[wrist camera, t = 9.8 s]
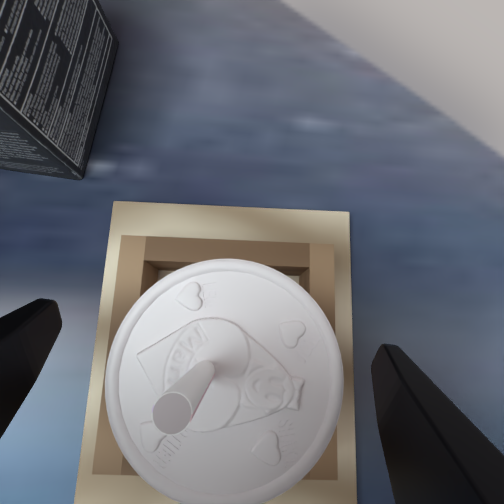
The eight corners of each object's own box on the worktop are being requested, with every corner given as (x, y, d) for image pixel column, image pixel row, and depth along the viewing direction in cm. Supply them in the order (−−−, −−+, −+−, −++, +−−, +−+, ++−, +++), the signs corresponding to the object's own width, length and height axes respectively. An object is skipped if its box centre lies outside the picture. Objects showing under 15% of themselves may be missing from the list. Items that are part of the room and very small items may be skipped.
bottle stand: (352, 508, 17) (382, 557, 14) (80, 502, 17) (36, 551, 13) (344, 216, 21) (367, 192, 17) (118, 205, 20) (91, 179, 17)
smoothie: (192, 278, 19) (66, 157, 5) (302, 305, 19) (467, 252, 5) (159, 397, 18) (-127, 650, 4) (278, 426, 17) (416, 794, 4)
